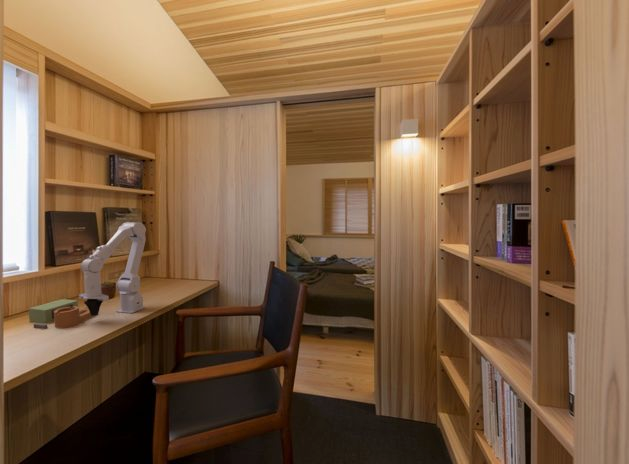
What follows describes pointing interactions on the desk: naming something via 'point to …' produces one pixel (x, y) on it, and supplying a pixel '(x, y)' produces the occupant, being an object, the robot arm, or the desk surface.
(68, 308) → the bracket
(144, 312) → the desk surface
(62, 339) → the desk surface
